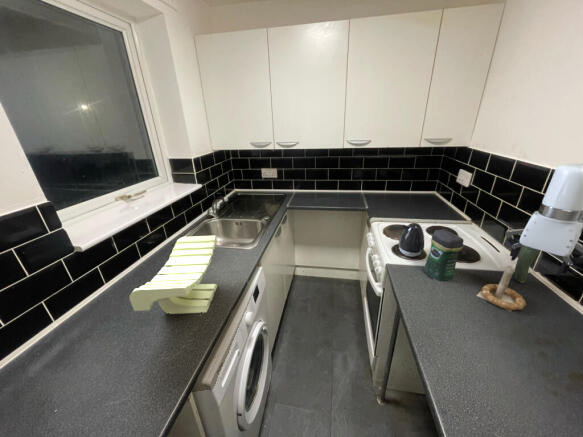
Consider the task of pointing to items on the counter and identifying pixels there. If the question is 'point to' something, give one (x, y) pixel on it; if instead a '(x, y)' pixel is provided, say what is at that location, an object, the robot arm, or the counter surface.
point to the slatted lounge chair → (180, 279)
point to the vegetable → (524, 262)
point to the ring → (517, 305)
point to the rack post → (503, 287)
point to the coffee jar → (443, 255)
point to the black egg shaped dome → (412, 240)
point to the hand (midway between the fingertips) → (535, 266)
